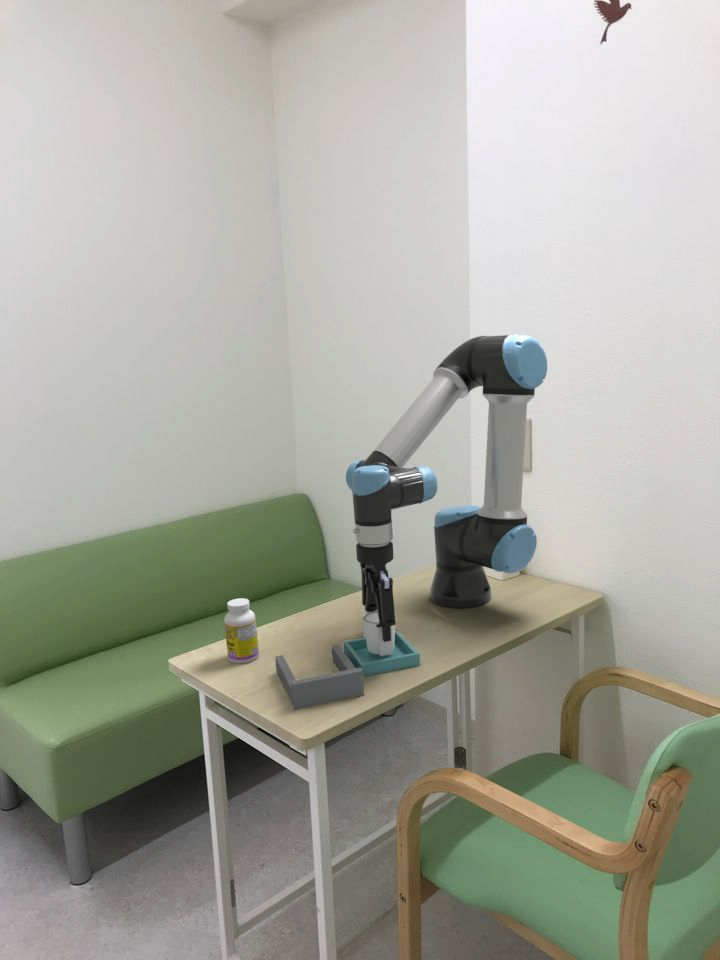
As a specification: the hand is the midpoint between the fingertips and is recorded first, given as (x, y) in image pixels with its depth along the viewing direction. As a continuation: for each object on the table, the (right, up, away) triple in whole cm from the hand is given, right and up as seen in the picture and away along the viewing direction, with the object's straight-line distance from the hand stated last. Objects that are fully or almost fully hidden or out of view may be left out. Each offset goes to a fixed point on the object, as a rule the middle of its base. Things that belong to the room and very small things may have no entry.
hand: (380, 647), depth 161 cm
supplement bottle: (-29, -4, +5) cm, 30 cm away
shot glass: (0, -1, 0) cm, 1 cm away
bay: (-12, -5, -9) cm, 16 cm away
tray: (0, -3, +1) cm, 3 cm away
